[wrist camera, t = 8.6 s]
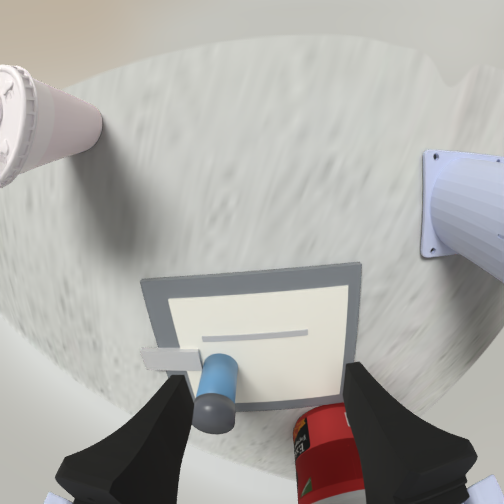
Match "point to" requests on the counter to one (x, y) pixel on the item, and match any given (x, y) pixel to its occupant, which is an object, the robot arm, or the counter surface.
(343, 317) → the clipboard
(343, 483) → the canned food
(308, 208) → the counter surface
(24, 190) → the counter surface
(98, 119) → the smoothie
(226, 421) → the marker
